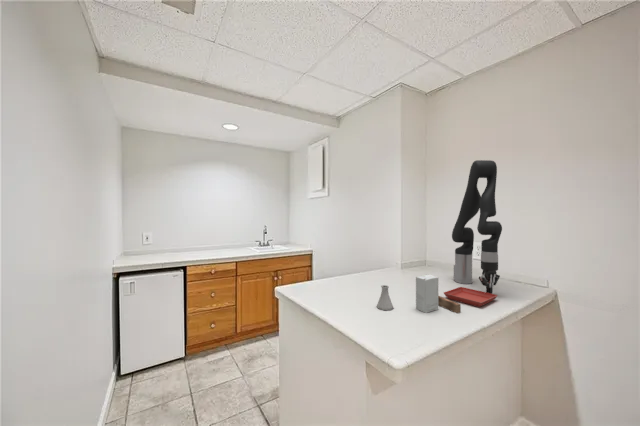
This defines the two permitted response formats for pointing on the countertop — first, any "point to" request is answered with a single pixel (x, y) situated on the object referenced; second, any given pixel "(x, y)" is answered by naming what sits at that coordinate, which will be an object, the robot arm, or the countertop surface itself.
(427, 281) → the skincare box
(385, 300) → the flask
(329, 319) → the countertop surface
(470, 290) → the plant saucer
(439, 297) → the bar
